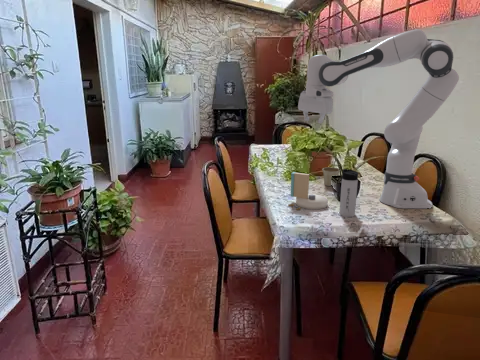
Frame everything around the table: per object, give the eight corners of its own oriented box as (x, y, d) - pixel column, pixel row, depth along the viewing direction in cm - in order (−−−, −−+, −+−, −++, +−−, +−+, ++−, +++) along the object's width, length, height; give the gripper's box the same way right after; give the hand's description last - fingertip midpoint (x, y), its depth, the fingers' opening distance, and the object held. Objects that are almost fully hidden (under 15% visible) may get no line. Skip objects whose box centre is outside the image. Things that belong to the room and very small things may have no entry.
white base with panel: (331, 202, 169) (333, 173, 165) (322, 211, 157) (324, 181, 154) (296, 196, 177) (297, 169, 173) (285, 205, 165) (286, 176, 161)
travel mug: (345, 212, 159) (349, 167, 154) (357, 217, 154) (361, 171, 148) (335, 215, 156) (338, 169, 151) (347, 220, 151) (351, 173, 145)
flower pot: (339, 187, 195) (340, 172, 193) (321, 186, 197) (322, 171, 195) (338, 182, 204) (339, 167, 202) (321, 182, 206) (322, 167, 204)
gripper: (295, 90, 177) (294, 119, 181) (325, 93, 160) (322, 124, 164) (306, 90, 180) (304, 118, 184) (336, 92, 163) (333, 124, 167)
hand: (313, 121), depth 174 cm, fingers open, 8 cm apart
